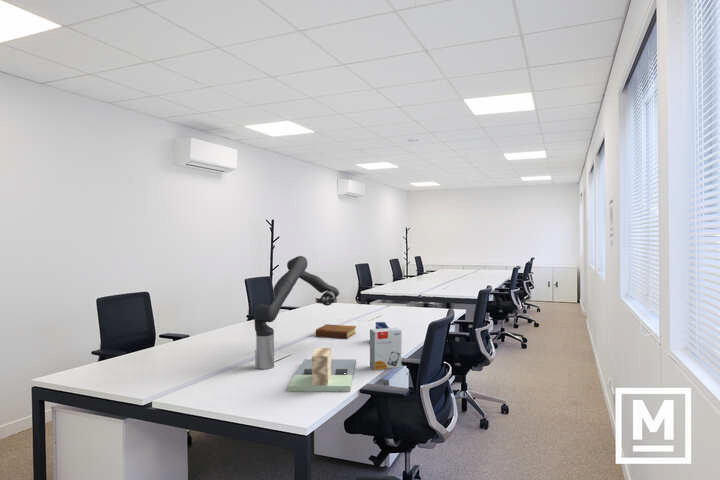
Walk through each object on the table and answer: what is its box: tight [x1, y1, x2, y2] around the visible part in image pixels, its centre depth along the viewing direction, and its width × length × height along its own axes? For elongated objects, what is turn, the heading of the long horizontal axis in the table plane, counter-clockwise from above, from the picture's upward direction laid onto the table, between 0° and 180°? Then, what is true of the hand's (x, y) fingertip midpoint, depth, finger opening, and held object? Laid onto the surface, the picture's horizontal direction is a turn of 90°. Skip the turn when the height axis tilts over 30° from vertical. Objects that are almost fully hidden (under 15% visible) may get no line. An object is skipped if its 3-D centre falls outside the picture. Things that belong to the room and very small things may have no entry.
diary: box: [315, 323, 357, 340], centre depth 321 cm, size 23×19×6 cm
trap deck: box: [287, 358, 357, 393], centre depth 227 cm, size 28×44×2 cm, turn 177°
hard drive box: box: [369, 327, 403, 371], centre depth 241 cm, size 16×8×20 cm, turn 105°
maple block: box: [311, 347, 332, 385], centre depth 213 cm, size 7×15×13 cm, turn 178°
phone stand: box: [375, 321, 390, 329], centre depth 298 cm, size 12×12×12 cm
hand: (324, 302), depth 258 cm, fingers closed
